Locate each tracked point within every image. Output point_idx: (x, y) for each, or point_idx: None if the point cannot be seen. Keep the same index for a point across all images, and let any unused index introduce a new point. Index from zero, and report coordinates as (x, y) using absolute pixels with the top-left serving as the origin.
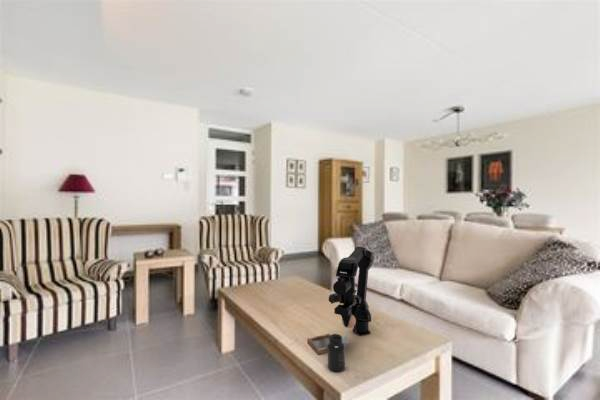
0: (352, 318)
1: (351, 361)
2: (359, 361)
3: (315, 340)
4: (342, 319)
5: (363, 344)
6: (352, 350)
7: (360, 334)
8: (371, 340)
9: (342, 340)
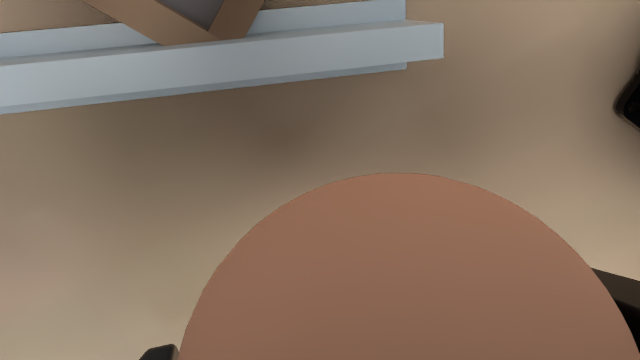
0: None
1: (72, 283)
2: (133, 338)
3: None
4: (243, 311)
5: None
6: (280, 188)
7: (632, 113)
8: None
9: (283, 73)
